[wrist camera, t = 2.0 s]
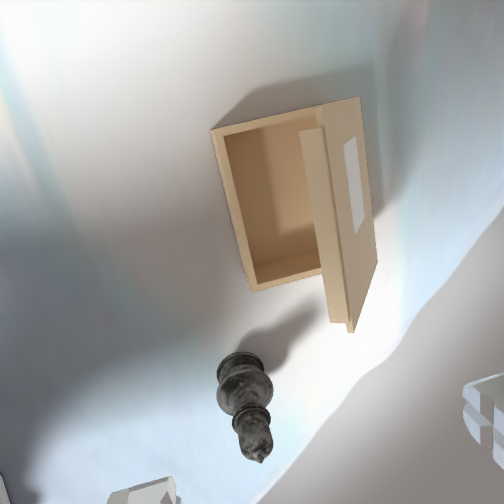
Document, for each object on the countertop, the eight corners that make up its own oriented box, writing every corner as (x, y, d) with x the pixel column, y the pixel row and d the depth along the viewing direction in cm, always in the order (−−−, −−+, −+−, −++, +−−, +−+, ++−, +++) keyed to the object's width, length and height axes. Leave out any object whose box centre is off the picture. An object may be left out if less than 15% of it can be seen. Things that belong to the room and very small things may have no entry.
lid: (362, 262, 34) (378, 261, 33) (332, 335, 24) (353, 337, 24) (343, 100, 29) (361, 95, 28) (295, 112, 20) (321, 107, 19)
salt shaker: (260, 396, 43) (287, 491, 31) (209, 393, 41) (218, 491, 30) (271, 351, 41) (303, 434, 30) (218, 347, 40) (231, 432, 28)
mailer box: (346, 245, 38) (370, 261, 34) (244, 272, 38) (252, 293, 33) (327, 103, 34) (351, 98, 29) (209, 130, 33) (213, 129, 28)
